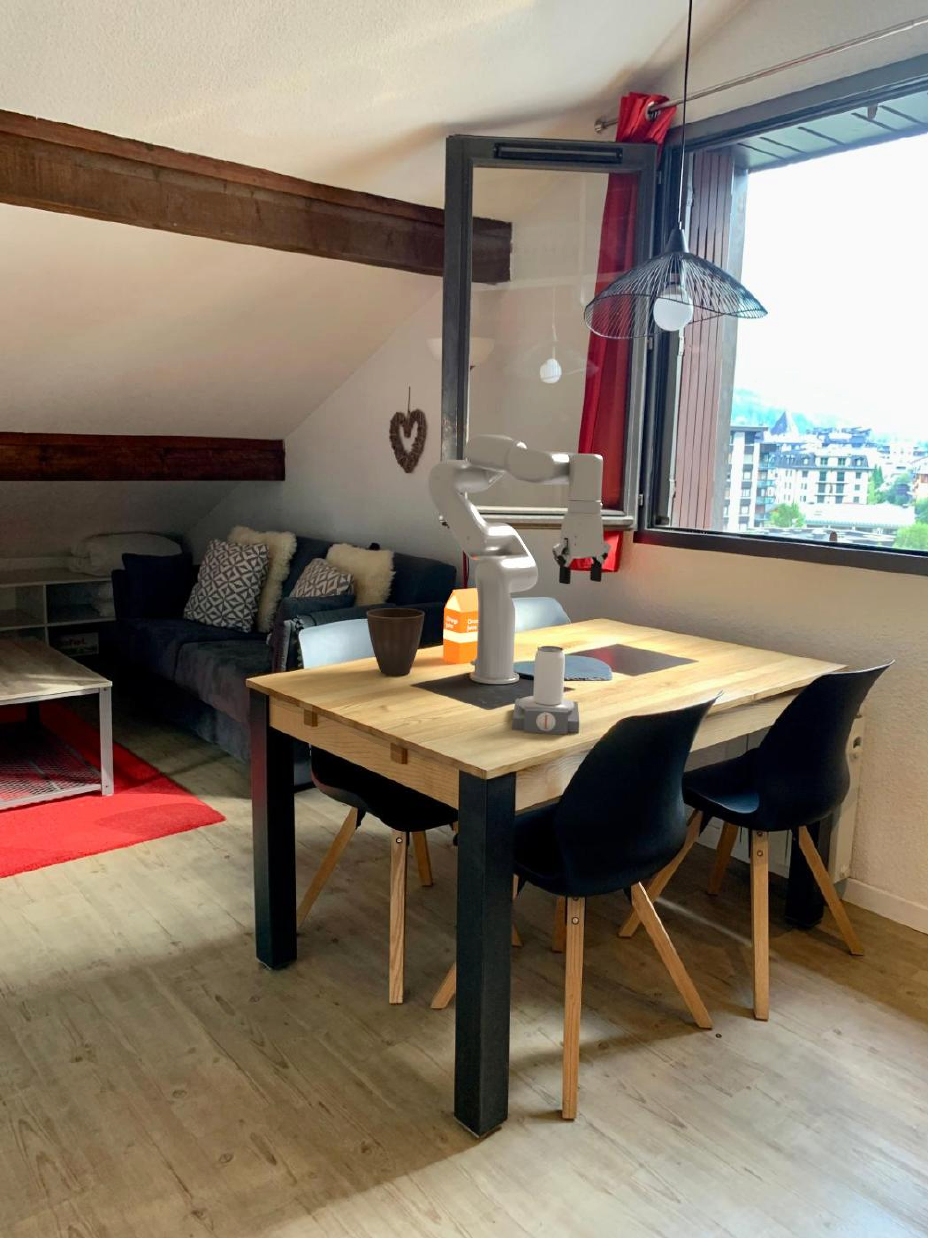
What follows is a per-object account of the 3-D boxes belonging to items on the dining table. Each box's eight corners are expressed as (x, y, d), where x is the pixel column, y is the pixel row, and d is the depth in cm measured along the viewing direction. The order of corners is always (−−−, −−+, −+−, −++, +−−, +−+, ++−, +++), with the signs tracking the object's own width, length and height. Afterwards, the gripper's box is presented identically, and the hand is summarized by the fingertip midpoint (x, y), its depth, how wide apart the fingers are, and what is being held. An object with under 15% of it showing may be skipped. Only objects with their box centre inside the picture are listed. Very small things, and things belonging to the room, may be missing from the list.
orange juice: (442, 659, 265) (444, 588, 262) (467, 655, 271) (469, 586, 267) (459, 664, 259) (461, 592, 256) (484, 660, 264) (487, 589, 261)
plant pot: (362, 678, 240) (362, 616, 237) (369, 665, 255) (370, 606, 252) (420, 681, 240) (422, 618, 237) (425, 667, 254) (426, 608, 252)
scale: (515, 708, 217) (516, 688, 216) (576, 712, 215) (578, 691, 214) (511, 732, 198) (512, 710, 198) (579, 736, 197) (580, 713, 196)
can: (560, 698, 211) (563, 645, 209) (564, 706, 205) (567, 652, 203) (531, 698, 211) (534, 645, 209) (534, 705, 204) (537, 651, 202)
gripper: (600, 506, 225) (596, 578, 228) (544, 507, 215) (541, 582, 218) (622, 508, 219) (618, 582, 222) (566, 510, 209) (562, 586, 212)
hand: (580, 582), depth 220 cm, fingers open, 9 cm apart
